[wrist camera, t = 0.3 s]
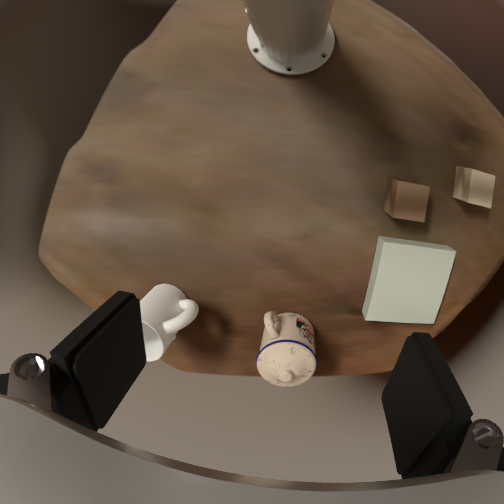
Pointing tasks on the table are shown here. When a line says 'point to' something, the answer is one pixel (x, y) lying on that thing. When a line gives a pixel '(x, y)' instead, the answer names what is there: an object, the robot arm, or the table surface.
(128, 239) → the table surface
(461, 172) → the ash block
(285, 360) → the teacup with lid
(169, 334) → the mug
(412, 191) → the walnut block
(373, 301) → the base board
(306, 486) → the robot arm
